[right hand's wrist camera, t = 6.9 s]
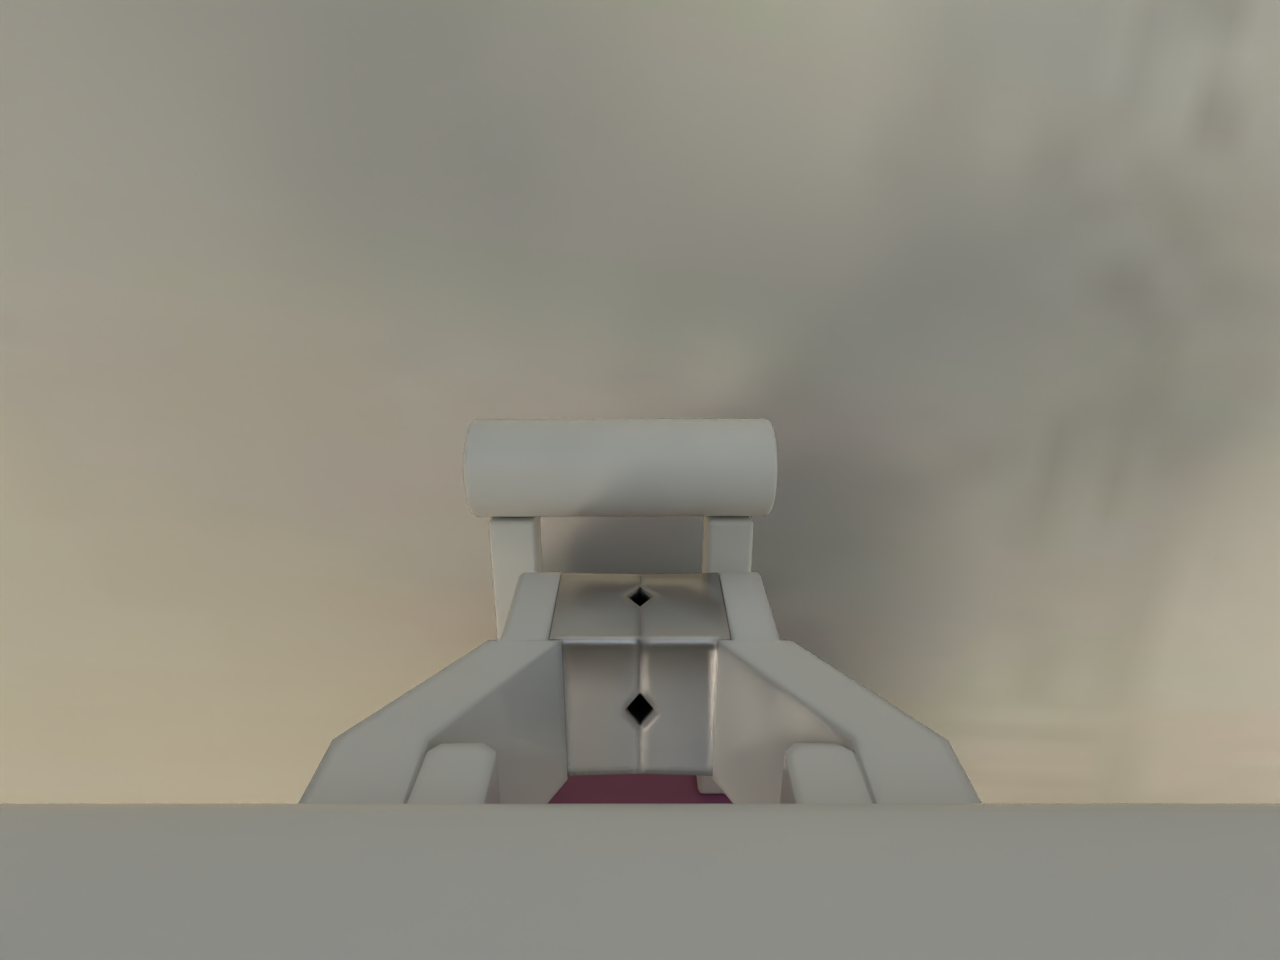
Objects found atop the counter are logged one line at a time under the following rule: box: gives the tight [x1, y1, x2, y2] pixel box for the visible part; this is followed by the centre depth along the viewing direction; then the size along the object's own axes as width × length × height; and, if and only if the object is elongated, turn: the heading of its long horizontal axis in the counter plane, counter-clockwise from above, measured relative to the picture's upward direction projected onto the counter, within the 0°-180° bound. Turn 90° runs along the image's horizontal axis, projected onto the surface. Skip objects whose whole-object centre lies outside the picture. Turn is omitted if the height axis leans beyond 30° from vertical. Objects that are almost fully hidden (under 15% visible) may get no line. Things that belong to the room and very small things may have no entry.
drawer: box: [463, 419, 778, 804], centre depth 15 cm, size 21×5×8 cm, turn 0°
